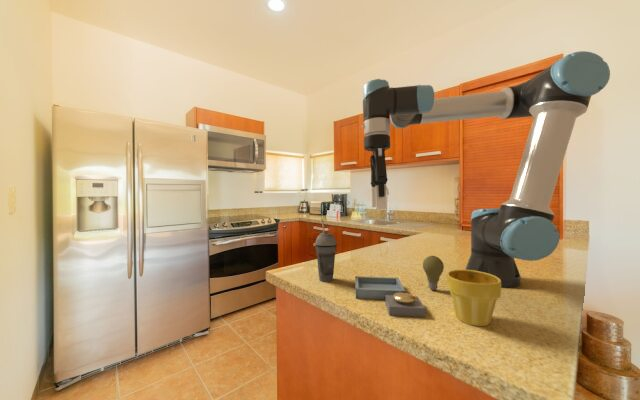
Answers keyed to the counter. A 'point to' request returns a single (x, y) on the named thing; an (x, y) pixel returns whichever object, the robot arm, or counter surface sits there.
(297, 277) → the counter surface
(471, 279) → the plant pot
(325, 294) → the counter surface
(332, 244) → the beverage cup
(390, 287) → the tray
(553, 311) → the counter surface
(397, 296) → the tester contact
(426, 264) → the light bulb
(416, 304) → the tester
